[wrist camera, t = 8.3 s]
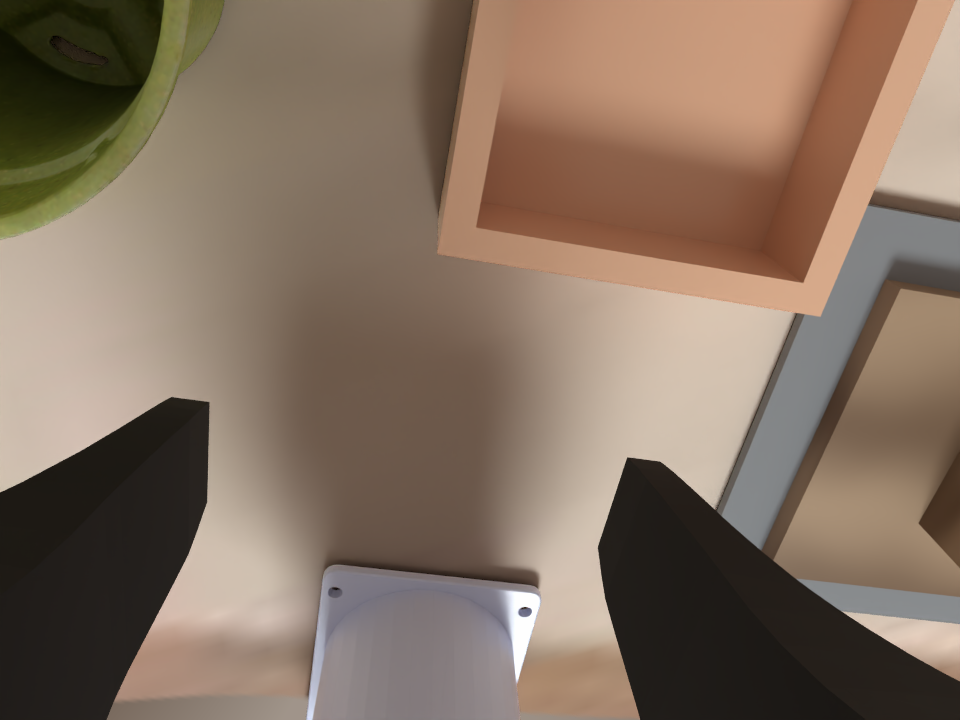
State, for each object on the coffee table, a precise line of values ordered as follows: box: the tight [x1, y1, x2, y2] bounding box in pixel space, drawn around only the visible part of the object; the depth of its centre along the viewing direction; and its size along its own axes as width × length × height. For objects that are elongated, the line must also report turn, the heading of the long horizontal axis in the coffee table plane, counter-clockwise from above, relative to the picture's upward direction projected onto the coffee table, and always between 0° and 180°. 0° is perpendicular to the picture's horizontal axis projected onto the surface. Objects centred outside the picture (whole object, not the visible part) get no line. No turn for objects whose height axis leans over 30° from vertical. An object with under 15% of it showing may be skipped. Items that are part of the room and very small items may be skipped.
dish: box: [437, 0, 955, 317], centre depth 17 cm, size 10×10×4 cm
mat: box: [717, 204, 960, 624], centre depth 25 cm, size 15×15×1 cm
